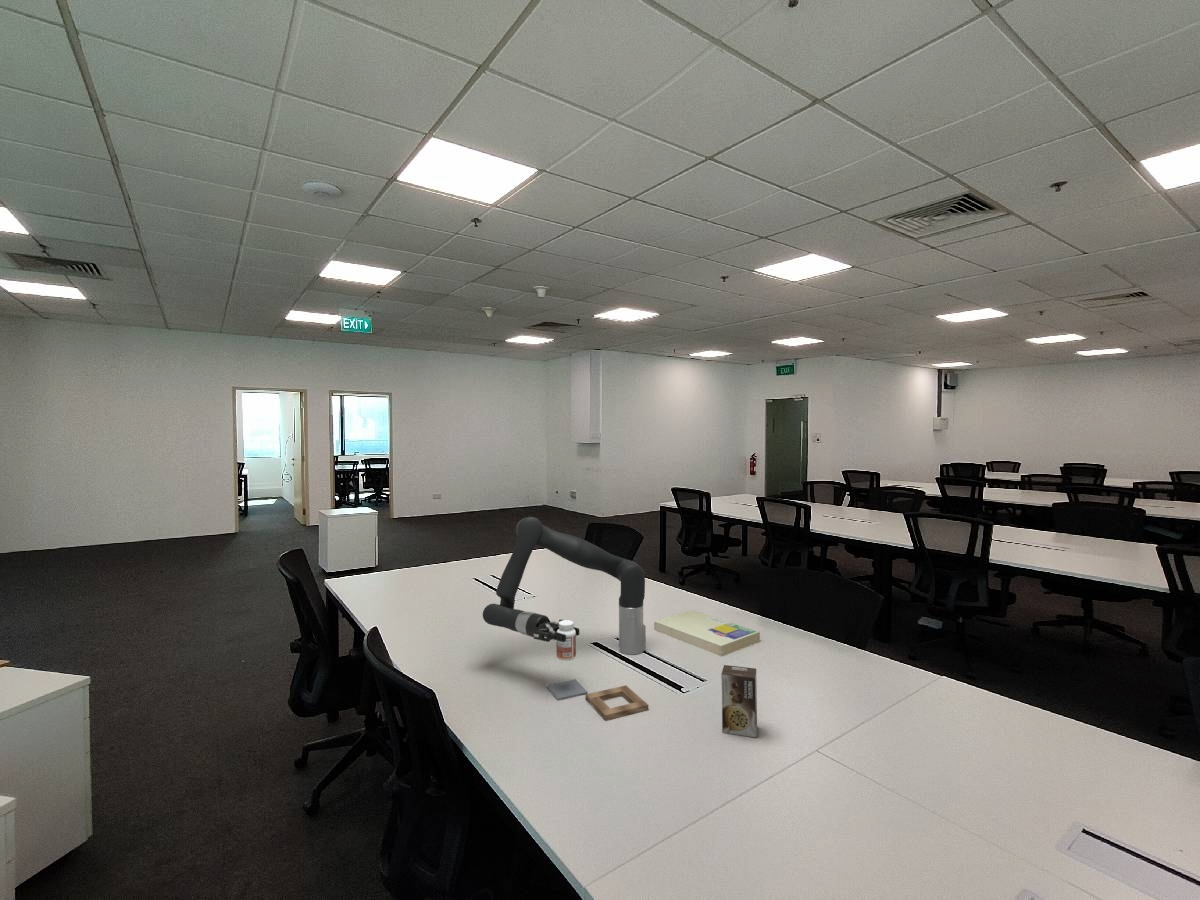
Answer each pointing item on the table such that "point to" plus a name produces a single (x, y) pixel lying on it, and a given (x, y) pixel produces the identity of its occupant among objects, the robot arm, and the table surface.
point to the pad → (566, 689)
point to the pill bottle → (569, 646)
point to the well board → (611, 713)
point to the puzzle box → (707, 632)
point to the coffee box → (739, 701)
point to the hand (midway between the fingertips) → (572, 635)
